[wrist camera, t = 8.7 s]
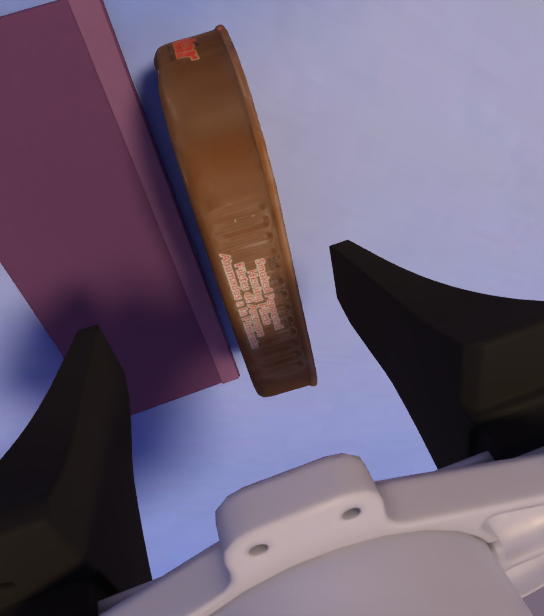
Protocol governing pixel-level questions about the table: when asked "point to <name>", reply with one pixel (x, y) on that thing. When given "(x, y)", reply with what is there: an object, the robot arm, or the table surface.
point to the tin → (236, 206)
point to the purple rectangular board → (98, 207)
